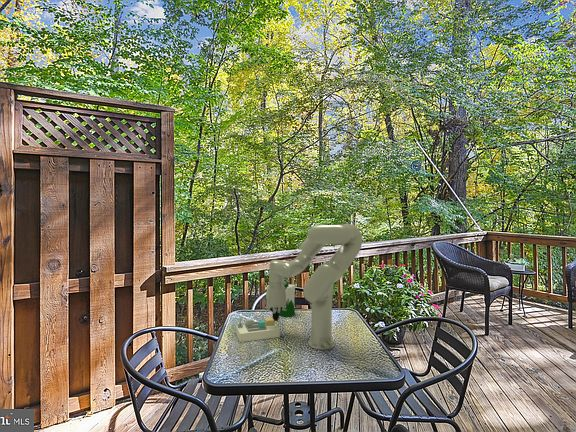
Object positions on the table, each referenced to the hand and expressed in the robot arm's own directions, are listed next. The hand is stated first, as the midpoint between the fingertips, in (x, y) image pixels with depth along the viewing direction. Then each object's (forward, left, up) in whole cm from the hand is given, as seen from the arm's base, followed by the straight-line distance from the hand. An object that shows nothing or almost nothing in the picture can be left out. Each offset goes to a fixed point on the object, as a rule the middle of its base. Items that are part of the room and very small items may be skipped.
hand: (275, 320), depth 166 cm
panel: (+2, +9, -7) cm, 12 cm away
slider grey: (+4, +13, -3) cm, 14 cm away
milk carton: (+27, -15, -8) cm, 32 cm away
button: (+4, +2, -6) cm, 8 cm away
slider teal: (-1, +8, -3) cm, 8 cm away
